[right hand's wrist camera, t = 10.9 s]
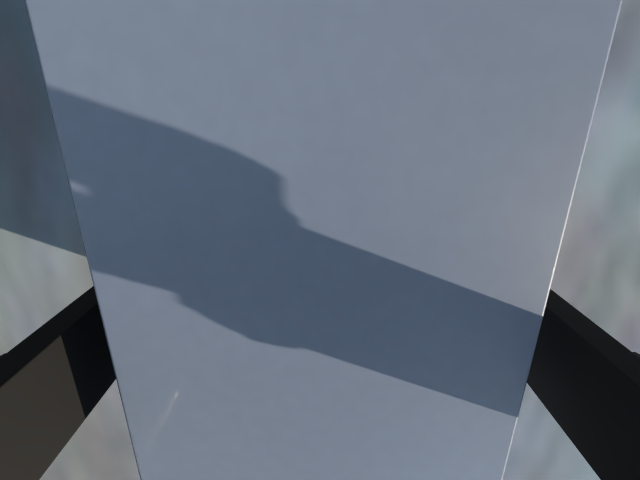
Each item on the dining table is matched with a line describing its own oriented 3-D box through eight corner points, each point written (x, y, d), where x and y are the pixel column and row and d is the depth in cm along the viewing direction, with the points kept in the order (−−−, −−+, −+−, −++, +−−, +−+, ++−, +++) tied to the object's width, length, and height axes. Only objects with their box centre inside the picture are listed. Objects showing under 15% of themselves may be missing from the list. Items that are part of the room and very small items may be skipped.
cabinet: (184, -183, 13) (-249, -1110, 3) (460, -182, 13) (904, -1109, 3) (231, 306, 20) (143, 497, 10) (410, 306, 20) (498, 498, 10)
